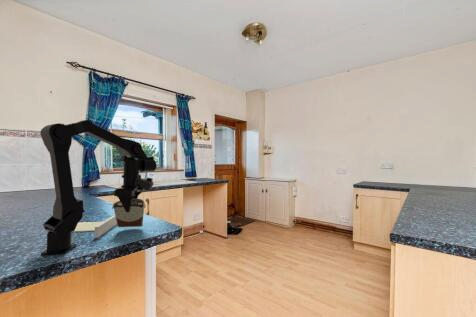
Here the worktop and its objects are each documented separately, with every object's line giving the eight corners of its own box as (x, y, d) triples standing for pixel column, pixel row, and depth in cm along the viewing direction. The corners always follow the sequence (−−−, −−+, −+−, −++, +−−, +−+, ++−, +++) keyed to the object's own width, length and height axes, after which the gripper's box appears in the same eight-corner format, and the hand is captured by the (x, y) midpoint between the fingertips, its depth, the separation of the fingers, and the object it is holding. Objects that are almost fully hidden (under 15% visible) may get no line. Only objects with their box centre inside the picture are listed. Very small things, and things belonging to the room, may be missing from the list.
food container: (150, 219, 92) (149, 197, 90) (145, 226, 86) (144, 203, 84) (120, 220, 90) (118, 198, 89) (113, 227, 84) (111, 203, 83)
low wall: (98, 237, 77) (98, 226, 77) (94, 238, 77) (94, 227, 77) (119, 222, 97) (119, 213, 97) (116, 222, 97) (116, 213, 97)
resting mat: (100, 230, 85) (100, 230, 85) (58, 232, 82) (58, 231, 82) (113, 222, 96) (113, 221, 96) (77, 223, 94) (77, 222, 94)
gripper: (145, 173, 79) (145, 215, 79) (156, 171, 97) (156, 205, 97) (113, 173, 77) (112, 216, 77) (131, 171, 95) (130, 205, 95)
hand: (130, 210), depth 86 cm, fingers closed on food container, 6 cm apart
